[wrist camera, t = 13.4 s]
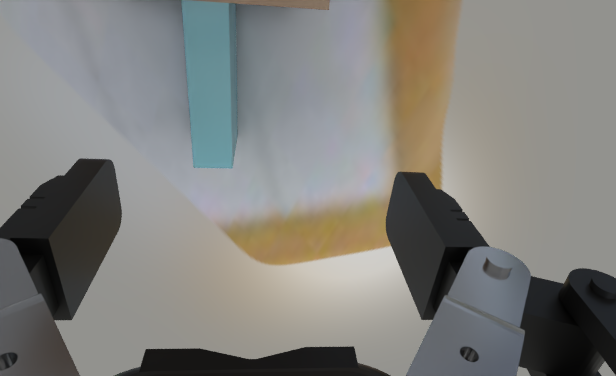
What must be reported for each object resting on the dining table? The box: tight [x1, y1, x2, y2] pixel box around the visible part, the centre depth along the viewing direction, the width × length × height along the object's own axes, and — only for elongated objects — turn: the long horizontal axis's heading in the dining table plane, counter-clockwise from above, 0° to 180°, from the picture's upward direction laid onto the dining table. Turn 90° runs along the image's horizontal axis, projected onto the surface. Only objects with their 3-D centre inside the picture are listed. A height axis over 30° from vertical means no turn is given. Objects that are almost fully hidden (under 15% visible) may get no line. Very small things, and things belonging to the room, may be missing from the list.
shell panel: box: [181, 0, 238, 168], centre depth 26 cm, size 14×2×6 cm, turn 176°
